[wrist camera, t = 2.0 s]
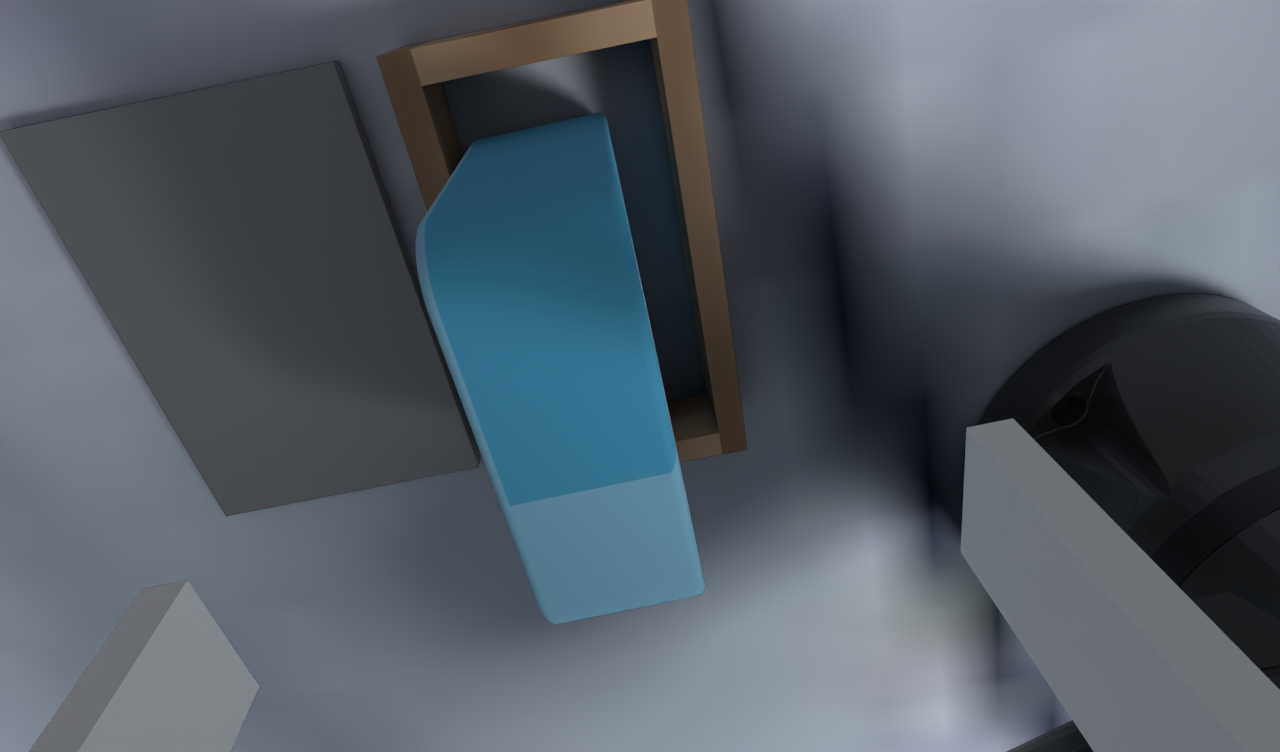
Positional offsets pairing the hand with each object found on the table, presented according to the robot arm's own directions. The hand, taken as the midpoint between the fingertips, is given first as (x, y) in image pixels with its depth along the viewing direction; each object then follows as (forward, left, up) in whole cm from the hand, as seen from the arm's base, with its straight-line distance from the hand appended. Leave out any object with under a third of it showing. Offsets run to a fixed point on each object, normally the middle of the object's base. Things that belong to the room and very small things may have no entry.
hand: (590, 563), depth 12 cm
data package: (0, +1, -17) cm, 17 cm away
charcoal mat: (+12, 0, -17) cm, 20 cm away
